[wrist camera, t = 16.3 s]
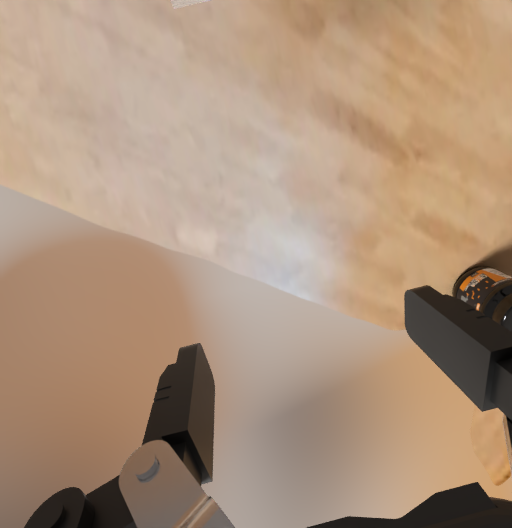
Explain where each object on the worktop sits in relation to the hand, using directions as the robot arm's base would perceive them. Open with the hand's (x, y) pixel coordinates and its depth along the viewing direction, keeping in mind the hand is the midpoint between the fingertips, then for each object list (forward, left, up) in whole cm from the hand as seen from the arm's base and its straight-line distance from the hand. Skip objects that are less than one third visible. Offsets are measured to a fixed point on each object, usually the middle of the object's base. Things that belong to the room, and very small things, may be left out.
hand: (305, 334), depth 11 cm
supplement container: (-26, +47, -40) cm, 67 cm away
